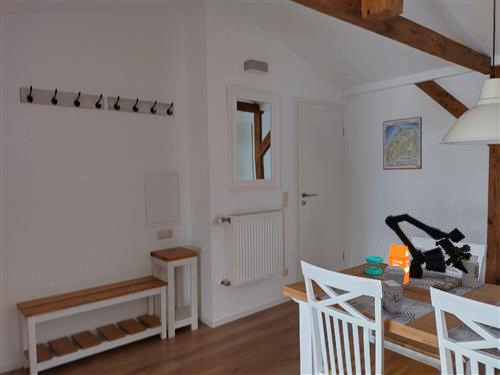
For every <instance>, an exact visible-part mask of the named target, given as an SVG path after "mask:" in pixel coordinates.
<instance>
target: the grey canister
mask: <svg viewBox="0 0 500 375" xmlns="http://www.w3.org/2000/svg"><path fill="white" fill-rule="evenodd" d="M383 273H385V281H387V280H394V281H395V282H397V283H398V284H400V285H401V302H402V301H403V293H404V286H405V284H404V276H405V274H406V272H405V270H404V268H402V267H399V266H389V265H388V266H386V267H385V268H384V270H383Z"/></svg>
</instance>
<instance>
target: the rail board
mask: <svg viewBox="0 0 500 375" xmlns="http://www.w3.org/2000/svg"><path fill="white" fill-rule="evenodd" d="M458 282H459V280H458V279H457V278H453V277H450V276H447V277H445V281H440V280H434V281H433V285H431V288H432V287H434V288H437V289H440V290H439V291H441V290H443V291H442V292H445V291H446V292H448V291H451V290H454V289H456V288H460V284H459V283H458ZM437 289H436V290H437Z"/></svg>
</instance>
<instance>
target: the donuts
mask: <svg viewBox="0 0 500 375" xmlns="http://www.w3.org/2000/svg"><path fill="white" fill-rule="evenodd" d="M364 259H365V262H366V263H367V264H370V265H381V264H382V263H384V258H382V257H381V256H379V255H378V256H377V255H369V256H366V257H365V258H364ZM364 271H365V274H367V275H368V276H376V277H377V276H382V275H383V274H384V270H383V269H382V268H380V267H378V266H377V267H376V266H369V267H367V268H365V270H364Z"/></svg>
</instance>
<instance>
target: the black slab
mask: <svg viewBox="0 0 500 375" xmlns="http://www.w3.org/2000/svg"><path fill="white" fill-rule="evenodd" d="M422 252H423V253H424V254H425V263H424V264H425V266H424V268H425V271H429V272H430V271H431V272H435V273H441V274H442V273H443V274H446V273H447V267H448V266H447V265H446V264H445V261H446V256H445V254H444V252H443V248H442V247H441V246H436V247H434V248H432V249H431V248H430V249H428V250H424V251H422Z"/></svg>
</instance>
